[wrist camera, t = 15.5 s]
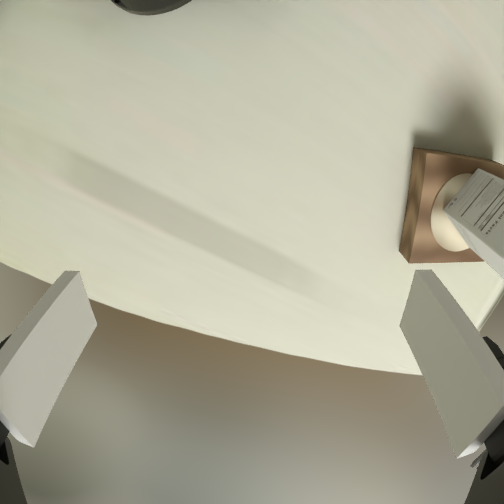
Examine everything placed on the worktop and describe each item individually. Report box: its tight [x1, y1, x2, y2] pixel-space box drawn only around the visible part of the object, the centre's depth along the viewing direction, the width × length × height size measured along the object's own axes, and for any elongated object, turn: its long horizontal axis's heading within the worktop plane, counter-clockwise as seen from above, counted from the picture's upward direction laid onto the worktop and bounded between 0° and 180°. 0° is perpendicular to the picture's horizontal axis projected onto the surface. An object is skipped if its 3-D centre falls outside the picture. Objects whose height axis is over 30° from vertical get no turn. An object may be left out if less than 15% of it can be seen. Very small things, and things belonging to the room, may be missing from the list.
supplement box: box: [443, 168, 504, 279], centre depth 30 cm, size 9×9×15 cm
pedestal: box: [399, 148, 504, 263], centre depth 39 cm, size 16×16×4 cm
